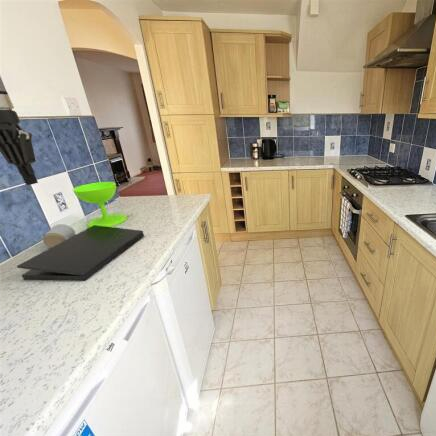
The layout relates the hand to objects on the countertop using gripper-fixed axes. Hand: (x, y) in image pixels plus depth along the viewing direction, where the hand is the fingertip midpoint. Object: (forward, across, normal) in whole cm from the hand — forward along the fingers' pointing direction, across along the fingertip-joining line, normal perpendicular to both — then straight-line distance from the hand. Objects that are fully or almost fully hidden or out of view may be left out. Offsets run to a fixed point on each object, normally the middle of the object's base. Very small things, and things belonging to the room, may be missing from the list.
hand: (32, 183), depth 85 cm
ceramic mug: (+27, +2, -4) cm, 27 cm away
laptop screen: (+23, -16, +4) cm, 29 cm away
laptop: (+26, -16, +4) cm, 31 cm away
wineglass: (+27, +2, -26) cm, 37 cm away
